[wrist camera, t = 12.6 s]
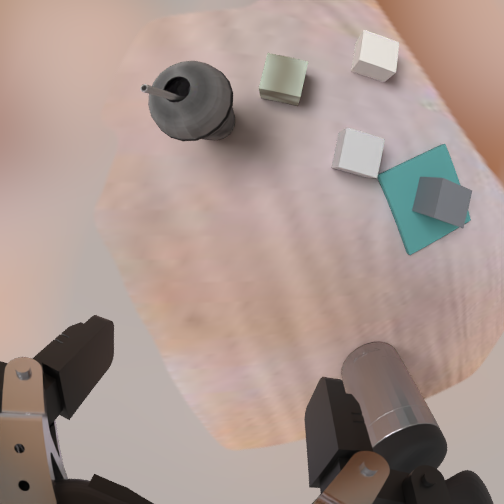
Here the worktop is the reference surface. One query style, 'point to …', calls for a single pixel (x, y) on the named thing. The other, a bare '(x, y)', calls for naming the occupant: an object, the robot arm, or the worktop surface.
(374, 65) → the offwhite block
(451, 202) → the charcoal block
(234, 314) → the worktop surface
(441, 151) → the teal mat
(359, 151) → the grey block
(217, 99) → the beverage cup
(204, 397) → the worktop surface
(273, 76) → the sage block
